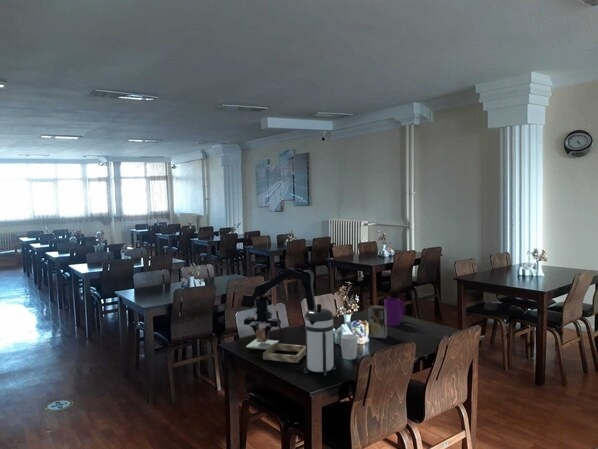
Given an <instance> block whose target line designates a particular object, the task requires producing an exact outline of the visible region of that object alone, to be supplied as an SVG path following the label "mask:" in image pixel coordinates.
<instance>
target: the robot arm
mask: <svg viewBox="0 0 598 449" xmlns="http://www.w3.org/2000/svg"><path fill="white" fill-rule="evenodd" d="M288 278H293V279H295V280H299V281H300V284H301V287H303V290H304V293H305V300H306V301H305V302H306V306H307V311H309V310H311V309H315V308H317V307H316V306H317V304H316V298H315V292H314V280H315V278H314V272H313V271H312V270H311V269H300V268H295V267H289V268H287V269H286V270H285V271H283V272H282V273H280V274H278V275H276V276H275V277H274V278H272V279H270V280H268V281H264V282H262V283H260V284H258V285H256V287H255V288H254V292H253V294H245V293H244V294H243V295H242V299H241V307H242V308H243V309H254V308H256V311H255V314H256V318H255V316H248V317H246V318H244V320H243V325H247V326H249V327H251V328H252V330H253V331H254V333H255V336H256V337H257V332H256V330H258V329H259V328H260V324H263V325H266V326H265V328H266V339H267V338H268V339H269V337H270V336H269V335H270V332H271V329H272V328H278V327H280V326H281V324H282V321H281V319H280V318H272V317H273V316H272V315H273V313H272V312H270V311H269V309H268V301H271V300H272V297H271V296H269V294H268V293H269V292H270V291H271V290H272V289H273V288H274V287H275V286H277V285H278V284H280V283H282V282H284V281H285V280H287V279H288ZM266 294H268V295H266ZM265 295H266V296H265Z"/></svg>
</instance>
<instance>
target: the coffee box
mask: <svg viewBox="0 0 598 449" xmlns="http://www.w3.org/2000/svg"><path fill="white" fill-rule="evenodd" d="M367 310H368V312H367V315H368V319H367V321H368V337H369V338H377V339H378V338H379V339H386V338H387V337H388V326H387V307H386V306H384V305H369V307H368V309H367Z"/></svg>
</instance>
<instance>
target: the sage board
mask: <svg viewBox="0 0 598 449" xmlns="http://www.w3.org/2000/svg"><path fill="white" fill-rule="evenodd" d="M279 342H280V341H279V340H276V339H275V340H273V339H268V340H267V341H266V342H257V338H255V339H254V340H252V341H251V342H249V343H248V344H247V345H246V346H245V348H247V349H256V350H257V349H258V350H265V351H266V350H267V349H268V348H269V347H271V346H272V345H273V344H274V343H279Z"/></svg>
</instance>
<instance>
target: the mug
mask: <svg viewBox="0 0 598 449" xmlns="http://www.w3.org/2000/svg"><path fill="white" fill-rule="evenodd" d="M383 302H384V303H383V304H384V305H383V306H386V307H387V327H399V326H400V325H401V320H402V319H403V317H404V314H405V306H404V303H403V301H402V300H401V299H400V298H396V297H386V298H384V300H383Z"/></svg>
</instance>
